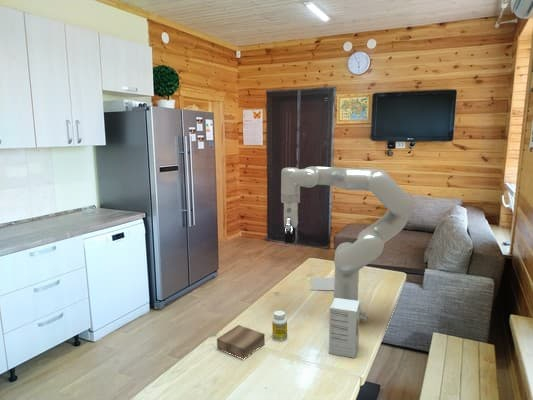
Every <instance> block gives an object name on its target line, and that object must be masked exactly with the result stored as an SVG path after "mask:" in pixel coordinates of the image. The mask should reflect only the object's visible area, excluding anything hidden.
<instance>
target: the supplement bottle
mask: <svg viewBox="0 0 533 400" xmlns="http://www.w3.org/2000/svg"><path fill="white" fill-rule="evenodd" d="M271 327H272V339H273V340H275V341H277V342H283V341H285V340H287V338H288V319H287V318H286V312H285V311H283V310H275V311H274V312H273V317H272V326H271Z"/></svg>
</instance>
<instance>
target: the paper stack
mask: <svg viewBox="0 0 533 400" xmlns="http://www.w3.org/2000/svg"><path fill="white" fill-rule="evenodd" d="M334 281H335V277H316V276H312V277H311V282H310V283H311V290H312V291H334Z"/></svg>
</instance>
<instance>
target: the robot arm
mask: <svg viewBox="0 0 533 400" xmlns="http://www.w3.org/2000/svg"><path fill="white" fill-rule="evenodd" d="M280 174H281V175H280V177H281V178H280V180H281V181H280V182H281V183H280V188H281V189H280V194H281V195H280V202H281V203H282V204H283V225H284V226H283V227H284V228H285V229H284V230H285V232H284V243H285V244H294V238H295V237H296V228H297V227H298V224H299V221H298V220H299V217H298V214H299V213H298V209H299V208H298V204H299V203H301V187H304V188H313V187H315V186H317V185H319V186H321V185H322V186H331V187H336V188H339V189H341V190H345V191H361V192H371V193H372V194H373V196H374V197H375V198H376V199H377V200H378V201H380V202H381V204H383V206H384V207H385V208H386V209H387V210H386V212H385V213H384V214H383V215H382V216H381V217H380V218H378V219H377V220H376V221H374V222H373V223H371V224H370V225H368V226H367V227H366V228H364V229H363V230H361V231H360V232H359V233H358V235H357V239H356V240H355V241H354V242H347V241H346V242H342V243H340V244H339V245H337V247H336V249H335V251H334V260H333V261H334V278H335V281H334V290H333V291H334V292H333V296H334V297H333V299H334V298H341V299H348V300H356V301H359V282H360V281H359V280H360V279H359V278H360V270H361V269H363V268H364V267H366V266H367V265H369V264H370V263H372V262H373V261H375V260H376V259H377V258H378V257H380V256H381V255H382V253H383V251H384V248H385V243H387V242H388V241H389V240H391V239H393V237H395V236H396V235H397V234H399V233H400V232H401V231H402V230H403V229H404V228H405V226H406V225H407V223H408V220H409V219H410V215H411V213H413V212H414V207H415V202H414V200H413V198H412V197H411V196H410V195H409V194H408V193H407V192H406V191H405V190H403V188H401V187H400V185H398V183H397V182H396V181H394V179H393V178H392V177H391V176H390V175H389V174H388V173H387V172H386V171H385V170H383V169H378V168H377V169H376V168H358V167H357V168H355V167H354V168H352V167H332V166H315V165H314V166H308V167H305V168H301V169H300V168H298V167H284V168H282V169H281V173H280ZM367 320H368V316H367V313H366V312H362V311H360V317H359V323H360V322H361V321H365V322H366V321H367Z"/></svg>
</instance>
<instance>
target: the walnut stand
mask: <svg viewBox="0 0 533 400" xmlns="http://www.w3.org/2000/svg"><path fill="white" fill-rule="evenodd" d="M265 336H266V335H265V333H262V332H260V331H257V330H255V329H252V328H249V327H246V326H242V325H240V324H238V325H236V326H235V327H233V328H232V329H229V330H228V331H227V332H225V333H224V334H222V335H220V336H219V337H218V338H216V347H217V348H218V349H220V350H223V351H226V352H228V353H231V354H233V355H236V356H238V357H241V358H243V359H244V358H245V357H247V356H248V355H249V354H251V353H252V352H253V351H254V350H256V349H257V348H259V347H260V348H262V347H263V346H264V345H265V341H266V340H265ZM260 348H259V349H260ZM218 349H217V350H218ZM220 350H219V351H220ZM223 351H222V352H223ZM228 353H227V354H228ZM233 355H232V356H233ZM251 355H252V354H251ZM238 357H237V358H238ZM247 358H248V357H247Z"/></svg>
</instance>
